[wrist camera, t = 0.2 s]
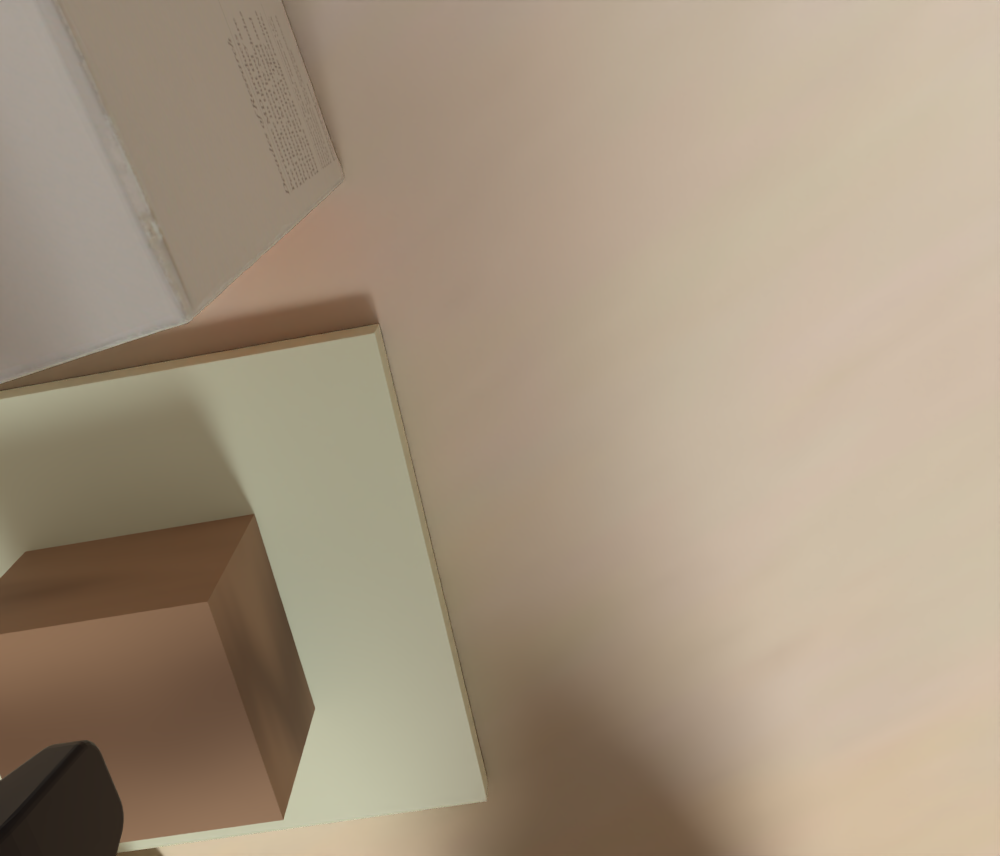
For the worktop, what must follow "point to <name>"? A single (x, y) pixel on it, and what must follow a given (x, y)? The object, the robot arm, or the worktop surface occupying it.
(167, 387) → the baseplate
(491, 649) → the worktop surface
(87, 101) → the skincare box
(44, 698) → the brick walnut
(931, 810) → the worktop surface
